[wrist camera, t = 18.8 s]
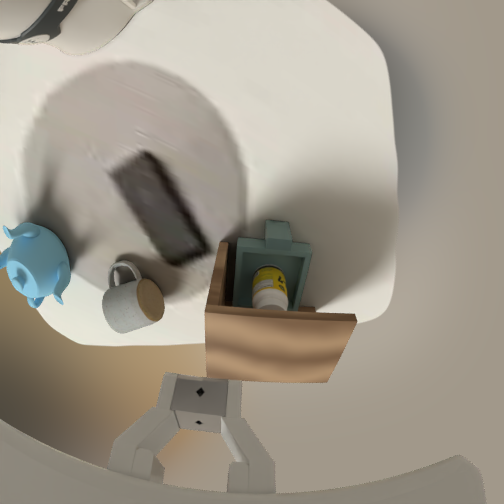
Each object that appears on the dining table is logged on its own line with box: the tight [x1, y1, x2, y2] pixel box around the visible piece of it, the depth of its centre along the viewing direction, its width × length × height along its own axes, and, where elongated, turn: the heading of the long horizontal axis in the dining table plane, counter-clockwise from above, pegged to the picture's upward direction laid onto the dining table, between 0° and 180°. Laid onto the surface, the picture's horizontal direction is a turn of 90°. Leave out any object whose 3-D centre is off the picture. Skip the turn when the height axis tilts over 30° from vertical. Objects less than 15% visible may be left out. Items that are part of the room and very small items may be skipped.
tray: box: [233, 220, 312, 311], centre depth 39 cm, size 14×10×5 cm
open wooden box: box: [205, 242, 357, 383], centre depth 37 cm, size 12×16×14 cm
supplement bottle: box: [252, 264, 288, 311], centre depth 38 cm, size 5×5×8 cm
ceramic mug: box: [102, 260, 165, 333], centre depth 41 cm, size 11×8×8 cm
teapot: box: [0, 222, 71, 308], centre depth 37 cm, size 15×15×10 cm
